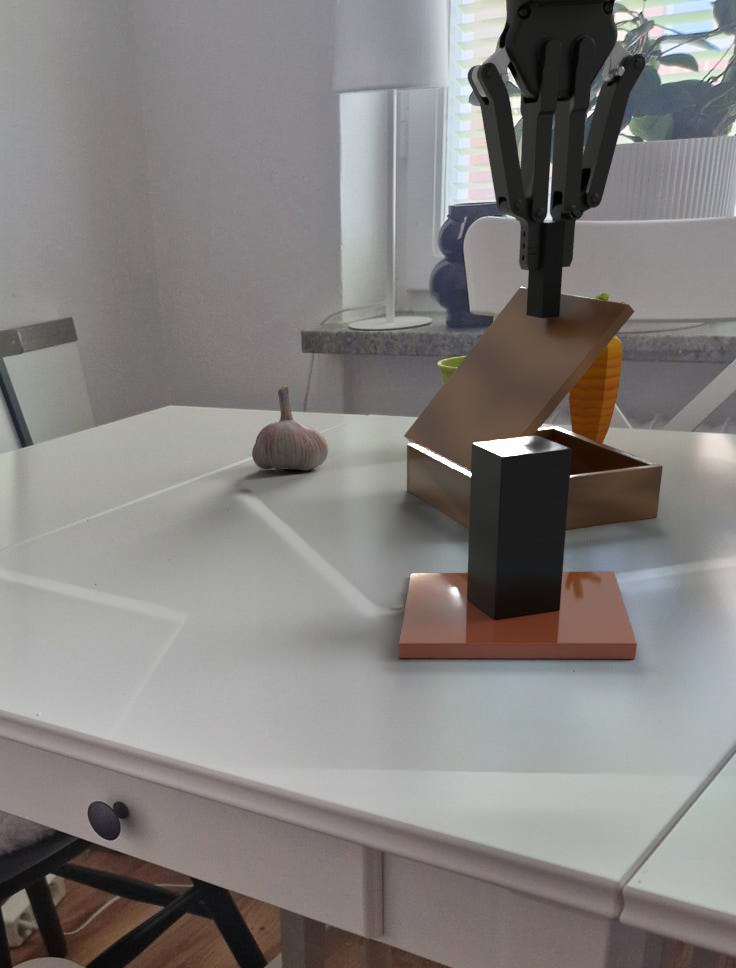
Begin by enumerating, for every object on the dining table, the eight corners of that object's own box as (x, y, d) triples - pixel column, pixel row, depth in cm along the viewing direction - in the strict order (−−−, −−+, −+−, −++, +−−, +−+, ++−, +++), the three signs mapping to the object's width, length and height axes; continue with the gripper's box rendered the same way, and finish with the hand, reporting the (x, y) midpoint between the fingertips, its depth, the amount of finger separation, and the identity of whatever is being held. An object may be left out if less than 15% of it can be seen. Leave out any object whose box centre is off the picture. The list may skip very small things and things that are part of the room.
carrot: (572, 456, 115) (585, 288, 107) (621, 460, 112) (638, 288, 105) (552, 467, 111) (564, 294, 104) (602, 471, 109) (618, 294, 101)
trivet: (613, 585, 81) (614, 570, 80) (635, 659, 69) (637, 643, 68) (410, 586, 83) (410, 572, 83) (398, 658, 71) (398, 643, 71)
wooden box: (553, 479, 107) (556, 426, 105) (656, 526, 92) (663, 465, 90) (406, 497, 105) (406, 443, 102) (487, 549, 90) (490, 487, 87)
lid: (526, 292, 99) (520, 286, 98) (635, 311, 84) (628, 303, 83) (409, 441, 102) (403, 435, 102) (493, 484, 87) (486, 478, 87)
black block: (529, 590, 78) (538, 435, 73) (560, 610, 74) (572, 448, 69) (466, 599, 77) (471, 442, 72) (494, 620, 73) (501, 457, 68)
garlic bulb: (239, 470, 119) (234, 387, 115) (296, 457, 122) (292, 376, 118) (284, 481, 113) (280, 394, 109) (342, 467, 117) (340, 383, 113)
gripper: (623, -57, 83) (595, 304, 95) (453, -50, 81) (446, 319, 93) (680, -78, 77) (643, 312, 89) (498, -71, 75) (484, 328, 87)
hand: (542, 315), depth 91 cm, fingers closed
